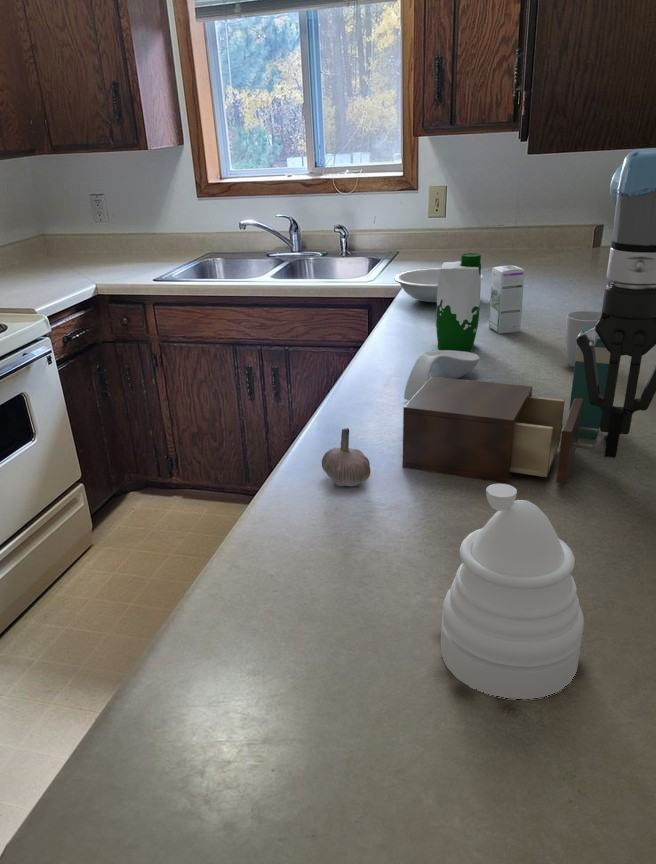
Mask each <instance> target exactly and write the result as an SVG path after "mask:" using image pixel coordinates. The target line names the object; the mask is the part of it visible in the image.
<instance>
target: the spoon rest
mask: <svg viewBox="0 0 656 864" xmlns="http://www.w3.org/2000/svg"><path fill="white" fill-rule="evenodd" d="M479 361H480V356H479V355H478V354H476V353H474V352H464V351H452V350H438V349H437V350H429V351H423V352H421V353H419V354H418V357H417V359H416V360H415V362H414V365H413V366H412V368H411V371H410V374H409V376H408V379H407V382H406V384H405V389H404V395H403V399H404V400H406V401H410V400H411V399H412V398H413V397H414V396H415V394H416V393H417V392H418V391H419V390H420V389H421V388H422V387H423V386H424V385H425V384H426V383H427V382H428V380H429V379H430V374H431V377H443V378H453V379H461V378H462V377H463V376H465V375H467V374H469V373H470V372H472V371H473V369H475V368H476V366H477V365H478V364H479Z"/></svg>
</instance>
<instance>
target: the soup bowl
mask: <svg viewBox="0 0 656 864" xmlns="http://www.w3.org/2000/svg"><path fill="white" fill-rule="evenodd" d="M440 268H441V267H438V268H437V267H434V268H431V267H430V268H420V269H419V268H418V269H413V270H412V269H411V270H407V271H402V272H400V273H398V274H396V275H395V276H394V278H393V279H394V281H395V282H396V283H398V284H400V286H401V288H402V290H403V291H404V292H405V293H406V294H407V295H408V296H409V297H411V298H413V299H415V300H418V301H422V302H427V303H428V302H429V303H437V290H438V280H439V273H440ZM483 279H484V275H483V273H481V281H483Z"/></svg>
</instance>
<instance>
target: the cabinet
mask: <svg viewBox="0 0 656 864" xmlns="http://www.w3.org/2000/svg"><path fill="white" fill-rule="evenodd" d="M529 396H533V386H532V385H524V384H514V383H513V384H512V383H503V382H494V381H493V382H492V381H484V380H483V381H481V380H471V379H461V378H457V379H453V378H443V377H433V376H431V377H429V380H428V382H427V383H426V384H425V385H424V386H423V387H422V388H421V389H420V390H419V391H418V392H417V393H416V394H415V396H414V397H413V398H412V399H411V400H408V402H407V403H406V404H405V405H404V406H403V412H402V413H403V414H402V415H403V417H402V419H403V420H402V421H403V422H402V462H401V463H402V464H401V465H402V466H401V467H402V468H405V469H412V470H418V471H425V472H430V473H436V474H437V473H438V474H444V475H450V476H451V475H452V476H456V477H457V476H458V477H464V478H471V479H477V480H483V481H490V482H496V483H502V484H509V482H510V480H511V478H512V476H513V474H514V472H510V466H511V455H512V444H513V433H514V423H515V421H516V419H517V418H518V416H519V414H520V412H521V410H522V408H523V407H524V405H525V403H526V401H527V399H528V397H529Z"/></svg>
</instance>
